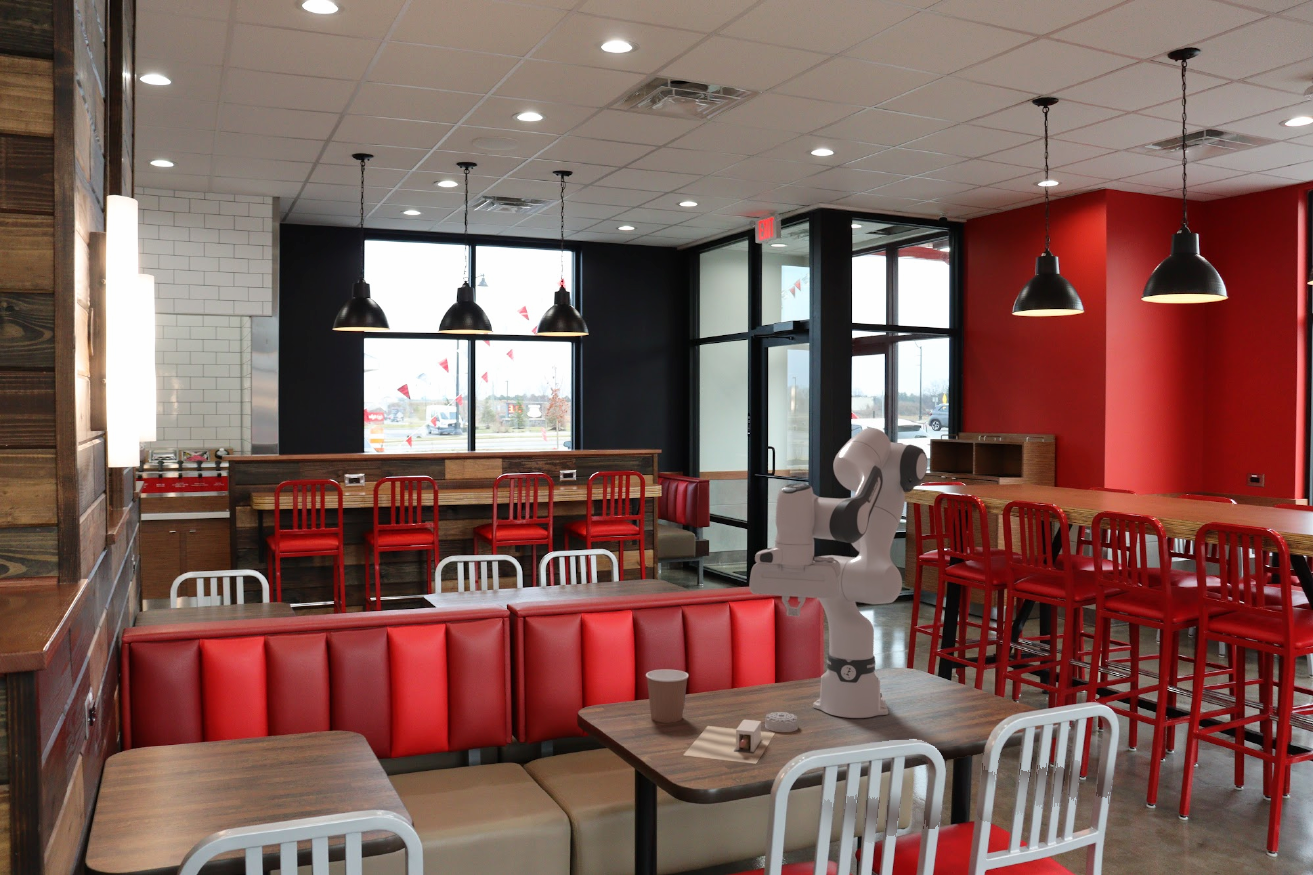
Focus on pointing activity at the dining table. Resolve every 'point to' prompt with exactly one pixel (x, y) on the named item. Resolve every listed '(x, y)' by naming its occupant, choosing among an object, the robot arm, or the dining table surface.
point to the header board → (727, 745)
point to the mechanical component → (781, 722)
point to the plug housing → (749, 729)
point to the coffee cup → (667, 694)
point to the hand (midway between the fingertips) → (793, 615)
